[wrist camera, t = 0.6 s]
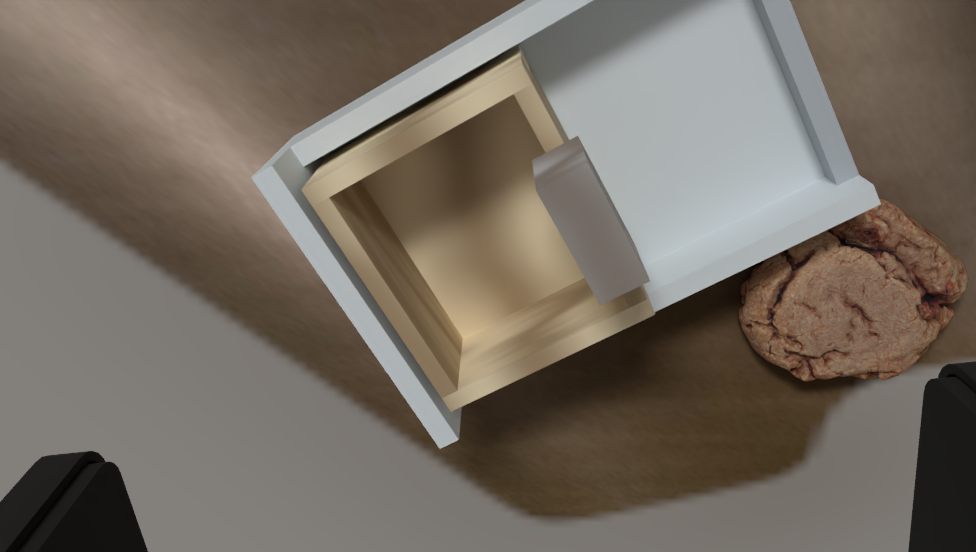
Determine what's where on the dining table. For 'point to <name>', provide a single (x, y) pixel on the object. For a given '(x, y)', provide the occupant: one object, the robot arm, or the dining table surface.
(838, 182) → the bay
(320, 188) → the drawer
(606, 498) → the dining table surface
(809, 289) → the cookie
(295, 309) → the dining table surface
